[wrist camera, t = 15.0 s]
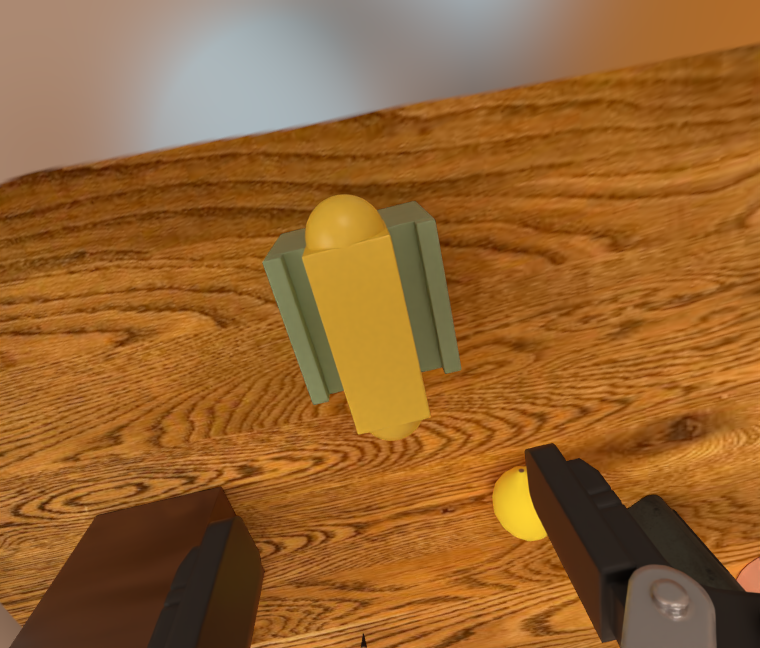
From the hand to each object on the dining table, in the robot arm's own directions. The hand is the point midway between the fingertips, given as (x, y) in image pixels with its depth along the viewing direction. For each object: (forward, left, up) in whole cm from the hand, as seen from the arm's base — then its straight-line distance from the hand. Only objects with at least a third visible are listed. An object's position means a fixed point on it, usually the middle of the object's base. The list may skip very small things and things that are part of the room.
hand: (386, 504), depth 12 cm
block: (0, 0, -19) cm, 19 cm away
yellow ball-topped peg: (0, 0, -13) cm, 13 cm away
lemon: (+21, +9, -20) cm, 30 cm away
